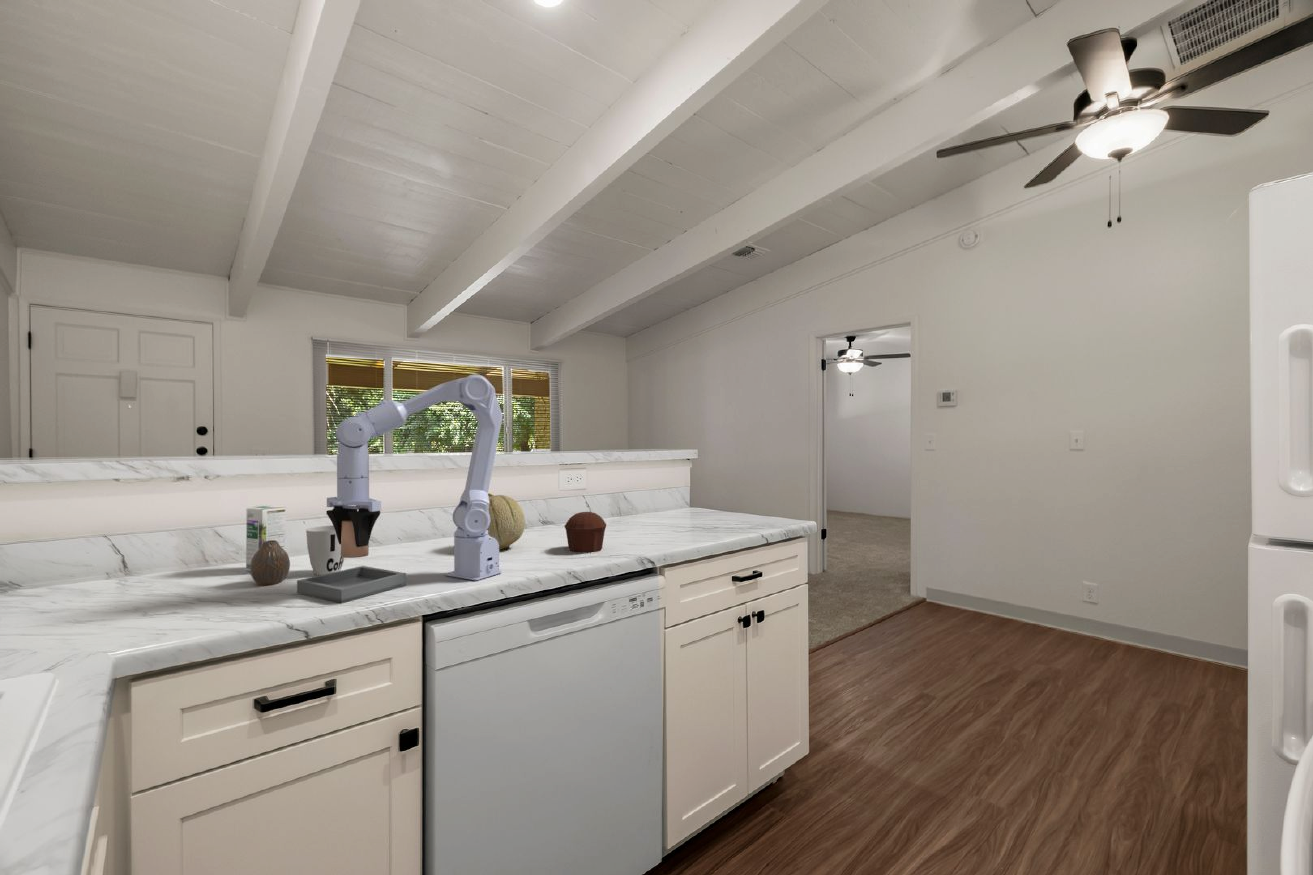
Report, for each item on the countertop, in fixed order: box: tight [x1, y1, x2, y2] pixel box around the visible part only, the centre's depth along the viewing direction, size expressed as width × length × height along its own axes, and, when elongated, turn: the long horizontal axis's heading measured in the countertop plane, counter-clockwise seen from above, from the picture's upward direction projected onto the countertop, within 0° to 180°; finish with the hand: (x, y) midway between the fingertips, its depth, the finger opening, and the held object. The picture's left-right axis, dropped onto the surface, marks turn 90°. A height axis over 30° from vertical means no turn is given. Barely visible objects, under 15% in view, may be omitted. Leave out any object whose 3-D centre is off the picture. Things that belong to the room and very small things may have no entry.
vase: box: [249, 540, 291, 586], centre depth 120 cm, size 7×7×9 cm
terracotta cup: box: [341, 520, 370, 559], centre depth 115 cm, size 5×5×7 cm
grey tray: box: [296, 565, 407, 604], centre depth 115 cm, size 14×14×2 cm
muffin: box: [564, 511, 607, 554], centre depth 154 cm, size 12×11×10 cm
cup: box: [305, 525, 345, 576], centre depth 129 cm, size 8×8×10 cm
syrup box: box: [245, 505, 287, 572], centre depth 131 cm, size 6×6×14 cm
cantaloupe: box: [487, 492, 526, 550], centre depth 155 cm, size 15×15×15 cm
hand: (353, 544), depth 115 cm, fingers closed on terracotta cup, 5 cm apart
